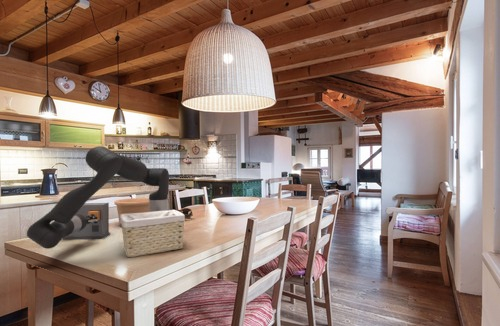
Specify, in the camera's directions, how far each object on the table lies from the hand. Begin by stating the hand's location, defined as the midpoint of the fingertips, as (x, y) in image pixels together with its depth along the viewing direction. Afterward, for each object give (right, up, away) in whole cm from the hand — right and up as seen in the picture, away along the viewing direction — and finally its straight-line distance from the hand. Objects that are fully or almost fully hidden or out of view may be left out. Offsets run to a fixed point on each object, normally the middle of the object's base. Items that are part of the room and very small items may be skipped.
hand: (92, 216), depth 133 cm
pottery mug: (+31, -11, +50) cm, 60 cm away
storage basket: (+33, -11, -14) cm, 38 cm away
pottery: (+6, -11, +34) cm, 36 cm away
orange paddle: (0, -2, +2) cm, 3 cm away
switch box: (-6, -11, +5) cm, 14 cm away
